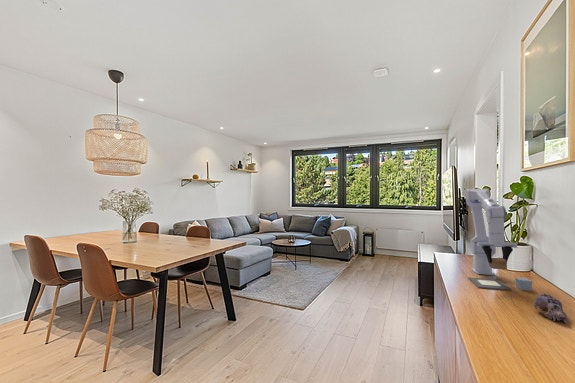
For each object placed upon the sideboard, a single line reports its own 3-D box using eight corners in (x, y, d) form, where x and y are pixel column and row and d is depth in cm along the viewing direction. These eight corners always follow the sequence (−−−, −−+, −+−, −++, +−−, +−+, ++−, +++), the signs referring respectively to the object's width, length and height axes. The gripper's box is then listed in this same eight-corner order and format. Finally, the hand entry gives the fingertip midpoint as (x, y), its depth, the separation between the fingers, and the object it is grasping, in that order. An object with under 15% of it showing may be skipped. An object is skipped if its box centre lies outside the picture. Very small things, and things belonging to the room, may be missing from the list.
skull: (575, 327, 81) (574, 307, 81) (541, 321, 85) (540, 302, 85) (561, 312, 92) (560, 294, 92) (531, 307, 96) (530, 290, 96)
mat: (468, 278, 129) (468, 277, 129) (498, 280, 125) (498, 279, 125) (478, 288, 116) (478, 286, 116) (512, 290, 112) (511, 289, 112)
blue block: (515, 286, 117) (515, 277, 117) (527, 287, 116) (526, 278, 116) (520, 289, 113) (520, 280, 113) (532, 290, 112) (531, 281, 112)
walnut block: (489, 266, 124) (488, 257, 124) (502, 266, 122) (501, 257, 122) (493, 268, 119) (492, 259, 119) (507, 269, 117) (506, 260, 118)
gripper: (480, 233, 120) (481, 264, 119) (520, 234, 115) (521, 266, 115) (475, 231, 126) (476, 260, 126) (512, 232, 122) (513, 262, 121)
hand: (497, 262), depth 121 cm, fingers closed on walnut block, 5 cm apart
